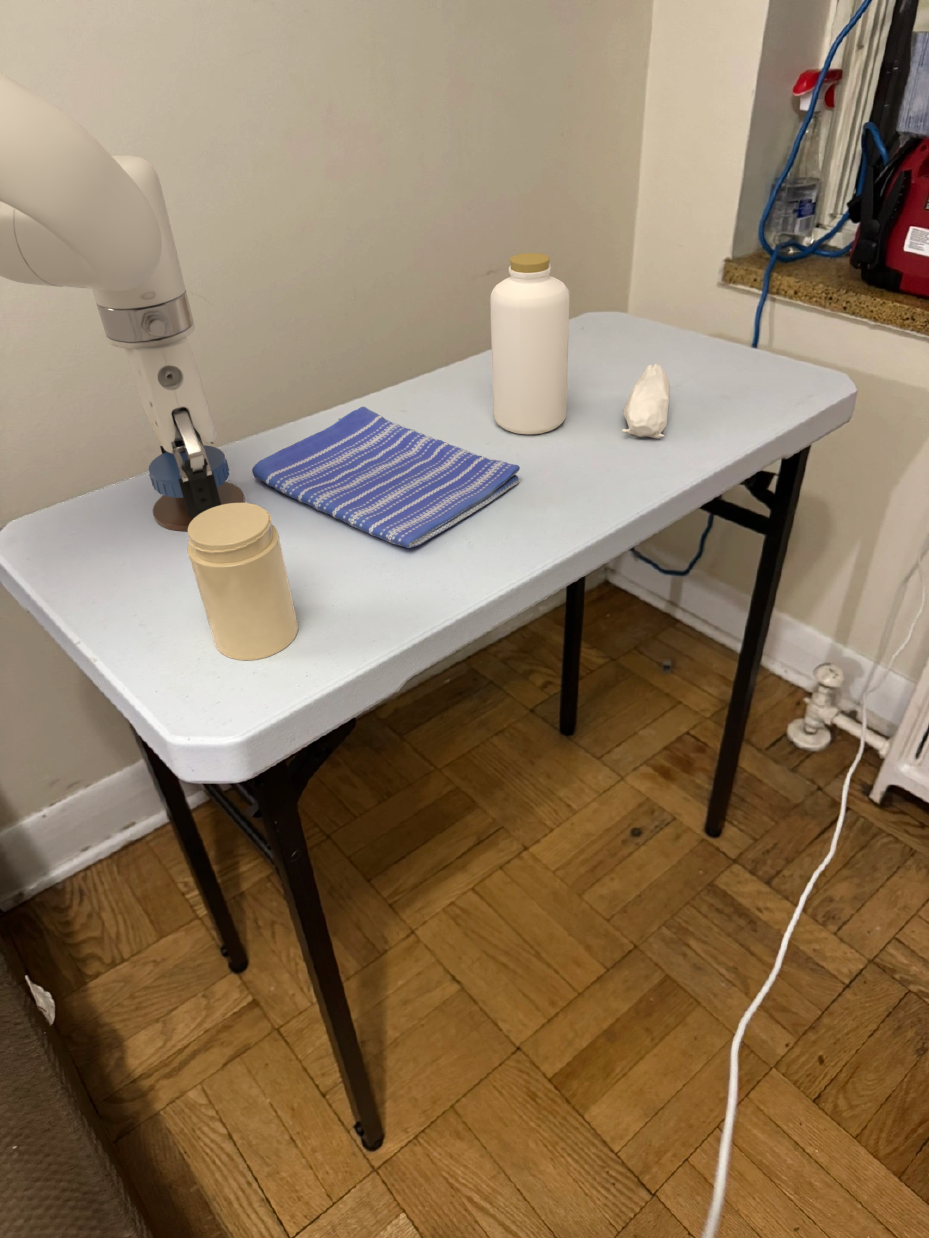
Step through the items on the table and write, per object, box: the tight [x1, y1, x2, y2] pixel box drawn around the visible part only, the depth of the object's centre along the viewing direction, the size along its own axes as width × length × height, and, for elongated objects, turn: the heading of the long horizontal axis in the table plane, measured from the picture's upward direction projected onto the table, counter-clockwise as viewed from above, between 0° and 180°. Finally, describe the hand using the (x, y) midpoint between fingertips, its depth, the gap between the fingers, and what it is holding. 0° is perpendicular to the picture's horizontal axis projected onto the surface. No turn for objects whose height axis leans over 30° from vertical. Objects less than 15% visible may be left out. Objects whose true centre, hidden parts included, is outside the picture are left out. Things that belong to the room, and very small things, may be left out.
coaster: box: [152, 481, 246, 532], centre depth 87 cm, size 9×9×1 cm
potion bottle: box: [489, 252, 571, 435], centre depth 94 cm, size 8×8×18 cm
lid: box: [148, 444, 230, 498], centre depth 85 cm, size 7×7×2 cm
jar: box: [187, 502, 299, 661], centre depth 68 cm, size 7×7×11 cm
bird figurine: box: [621, 363, 671, 439], centre depth 96 cm, size 5×7×10 cm
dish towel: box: [251, 406, 521, 549], centre depth 89 cm, size 17×24×3 cm
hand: (195, 493), depth 86 cm, fingers closed on lid, 7 cm apart
